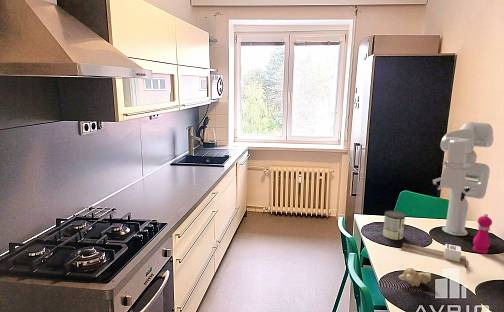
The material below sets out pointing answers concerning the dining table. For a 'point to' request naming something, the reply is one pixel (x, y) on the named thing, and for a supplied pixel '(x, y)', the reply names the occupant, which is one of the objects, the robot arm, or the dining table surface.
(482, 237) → the pepper mill
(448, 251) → the white block
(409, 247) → the grey brown bent bar
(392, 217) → the coffee can
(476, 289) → the dining table surface
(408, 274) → the beige lumpy piece
